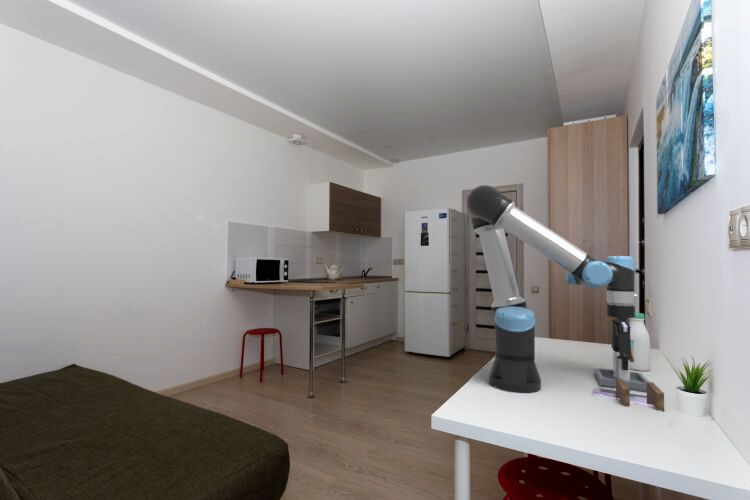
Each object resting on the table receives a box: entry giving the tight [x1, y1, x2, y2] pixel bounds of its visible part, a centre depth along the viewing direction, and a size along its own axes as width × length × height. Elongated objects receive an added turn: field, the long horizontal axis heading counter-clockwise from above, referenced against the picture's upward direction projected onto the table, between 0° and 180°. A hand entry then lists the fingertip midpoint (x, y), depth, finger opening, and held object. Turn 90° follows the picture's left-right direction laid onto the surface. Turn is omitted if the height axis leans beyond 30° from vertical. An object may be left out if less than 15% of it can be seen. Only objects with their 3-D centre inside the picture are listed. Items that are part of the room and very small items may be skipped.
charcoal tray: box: [594, 367, 650, 393], centre depth 119 cm, size 13×13×2 cm
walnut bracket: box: [615, 378, 665, 412], centre depth 103 cm, size 9×10×4 cm
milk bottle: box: [628, 312, 651, 372], centre depth 137 cm, size 8×8×20 cm
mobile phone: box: [590, 387, 654, 407], centre depth 107 cm, size 8×1×15 cm
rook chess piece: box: [613, 355, 619, 379], centre depth 119 cm, size 4×4×8 cm
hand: (621, 376), depth 119 cm, fingers open, 8 cm apart
